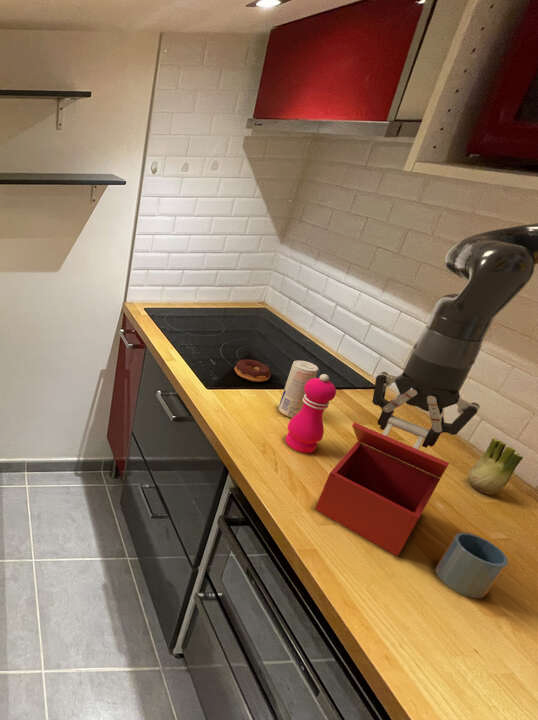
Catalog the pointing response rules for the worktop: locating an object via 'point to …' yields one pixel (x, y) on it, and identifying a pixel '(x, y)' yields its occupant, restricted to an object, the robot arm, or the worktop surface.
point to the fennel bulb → (494, 468)
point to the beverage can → (296, 387)
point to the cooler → (376, 496)
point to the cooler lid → (402, 445)
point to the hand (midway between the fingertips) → (403, 436)
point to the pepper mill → (310, 415)
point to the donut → (252, 370)
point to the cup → (471, 565)
